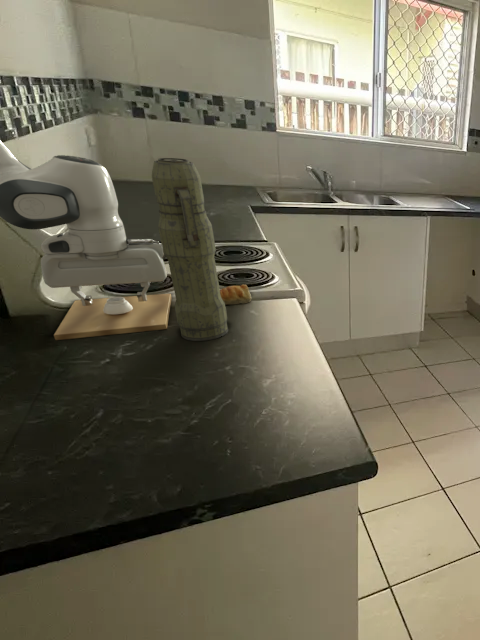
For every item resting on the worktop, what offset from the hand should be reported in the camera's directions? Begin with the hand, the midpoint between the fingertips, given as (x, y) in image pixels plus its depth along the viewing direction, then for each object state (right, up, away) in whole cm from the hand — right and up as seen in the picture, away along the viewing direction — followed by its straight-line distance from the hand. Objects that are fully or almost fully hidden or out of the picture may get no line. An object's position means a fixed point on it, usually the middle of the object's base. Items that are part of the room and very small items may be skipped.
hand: (116, 302), depth 103 cm
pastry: (+17, +1, +15) cm, 23 cm away
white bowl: (0, -2, +1) cm, 2 cm away
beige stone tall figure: (+20, -7, -2) cm, 22 cm away
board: (0, -3, +1) cm, 3 cm away
